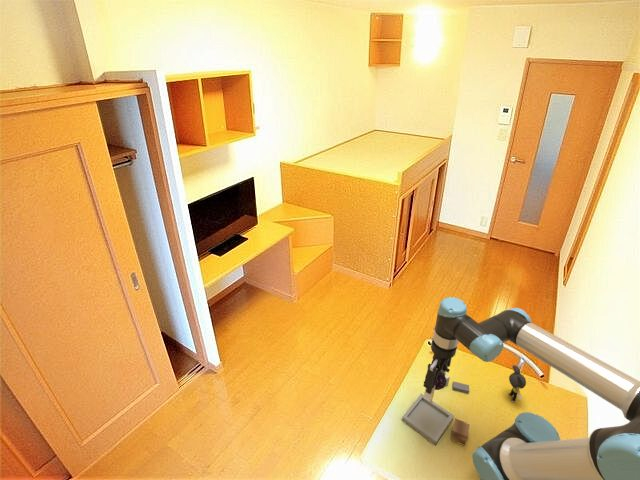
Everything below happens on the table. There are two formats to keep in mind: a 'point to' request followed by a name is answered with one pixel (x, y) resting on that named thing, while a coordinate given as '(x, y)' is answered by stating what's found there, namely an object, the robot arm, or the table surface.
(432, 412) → the tray
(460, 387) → the rubber eraser
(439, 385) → the lollipop
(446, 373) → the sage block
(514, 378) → the toy
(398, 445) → the table surface
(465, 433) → the walnut cube
